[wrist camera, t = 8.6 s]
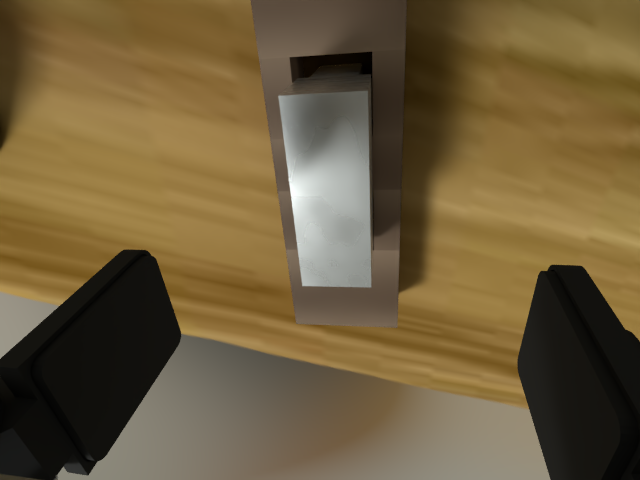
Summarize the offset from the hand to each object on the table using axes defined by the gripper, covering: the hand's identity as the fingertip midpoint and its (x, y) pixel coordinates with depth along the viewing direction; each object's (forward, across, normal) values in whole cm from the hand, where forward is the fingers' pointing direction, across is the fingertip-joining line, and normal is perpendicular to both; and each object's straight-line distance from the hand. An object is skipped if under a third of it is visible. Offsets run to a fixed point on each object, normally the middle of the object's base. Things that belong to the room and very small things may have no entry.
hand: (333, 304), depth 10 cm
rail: (+13, +2, 0) cm, 13 cm away
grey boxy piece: (+13, +1, 0) cm, 13 cm away
